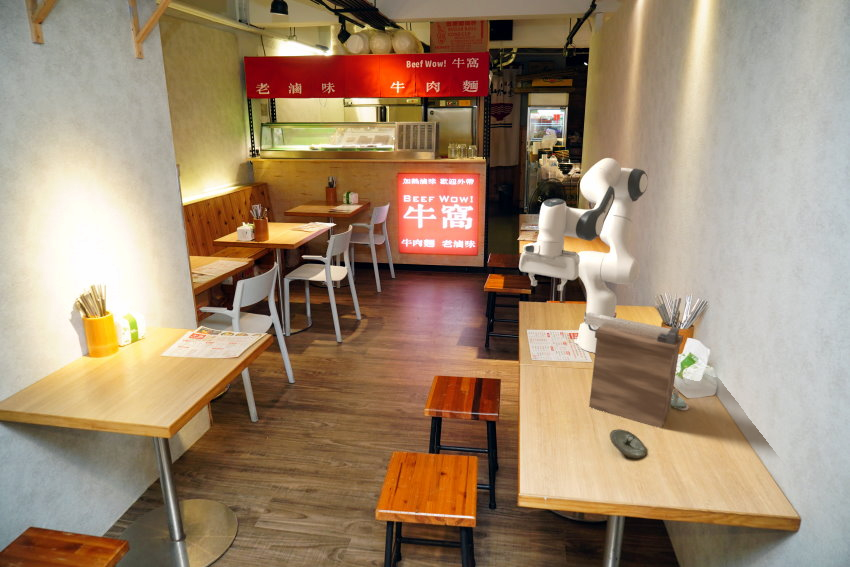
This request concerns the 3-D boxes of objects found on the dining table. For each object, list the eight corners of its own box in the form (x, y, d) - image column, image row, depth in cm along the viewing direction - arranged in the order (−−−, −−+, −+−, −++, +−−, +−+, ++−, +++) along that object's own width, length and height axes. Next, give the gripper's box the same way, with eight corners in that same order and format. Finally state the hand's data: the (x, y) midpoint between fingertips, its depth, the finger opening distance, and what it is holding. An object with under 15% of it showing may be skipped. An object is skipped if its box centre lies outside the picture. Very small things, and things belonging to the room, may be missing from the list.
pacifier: (685, 402, 190) (666, 400, 191) (689, 385, 188) (669, 382, 190) (690, 413, 183) (670, 410, 184) (694, 395, 182) (674, 392, 183)
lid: (616, 436, 169) (618, 420, 167) (650, 448, 163) (653, 432, 162) (602, 451, 161) (604, 435, 159) (638, 465, 155) (640, 448, 154)
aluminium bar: (587, 321, 187) (588, 312, 186) (669, 338, 174) (670, 328, 173) (584, 323, 184) (585, 314, 183) (667, 341, 171) (668, 331, 170)
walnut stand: (599, 392, 195) (608, 311, 187) (671, 412, 183) (684, 326, 175) (587, 407, 185) (596, 322, 177) (662, 429, 173) (676, 339, 165)
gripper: (583, 251, 190) (579, 291, 194) (526, 242, 201) (523, 280, 205) (577, 254, 185) (573, 295, 189) (518, 245, 196) (515, 284, 200)
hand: (546, 287), depth 197 cm, fingers open, 8 cm apart
